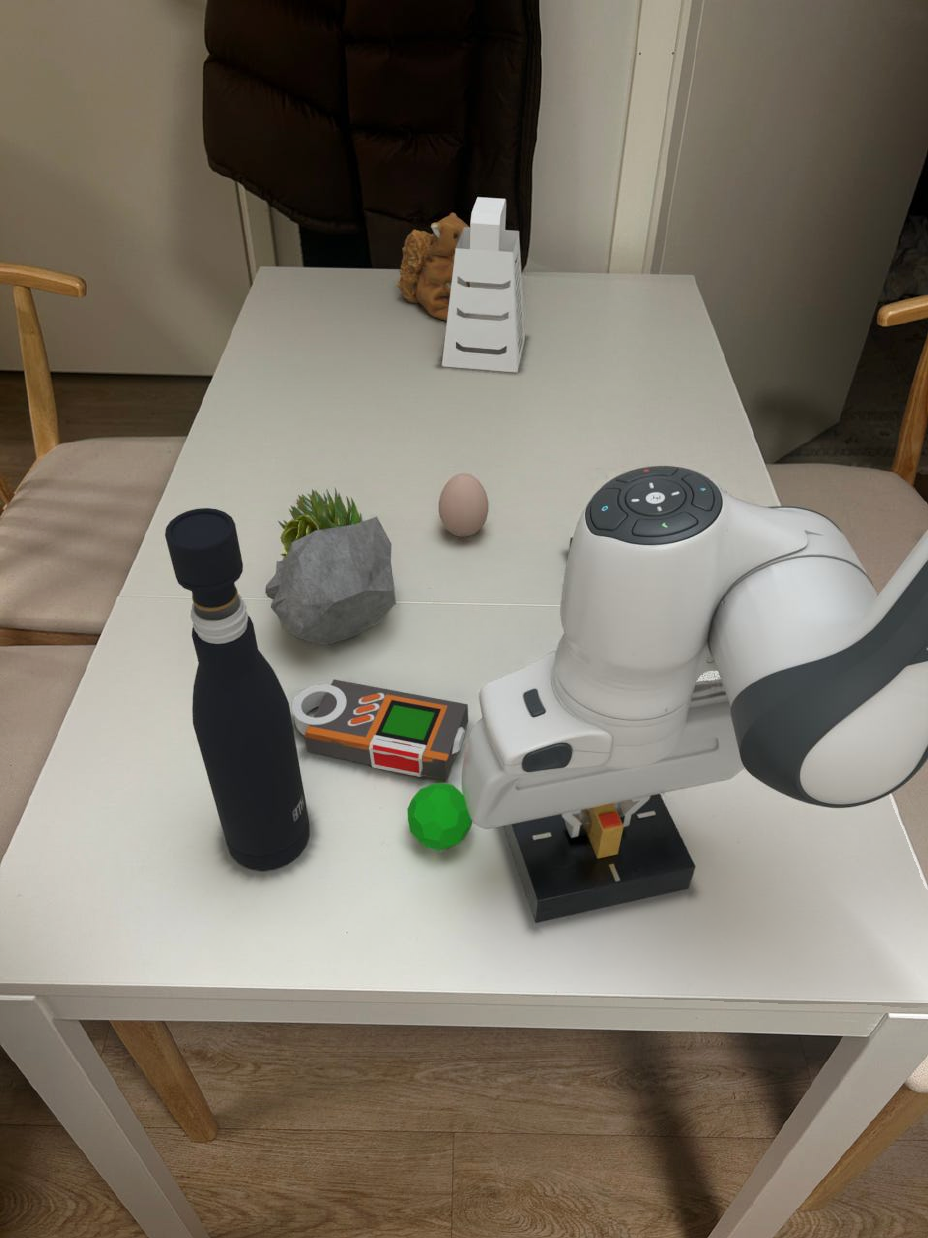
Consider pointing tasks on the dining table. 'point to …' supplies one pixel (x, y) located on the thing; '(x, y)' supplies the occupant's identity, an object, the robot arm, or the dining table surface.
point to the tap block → (599, 863)
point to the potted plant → (331, 571)
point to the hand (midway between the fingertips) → (596, 824)
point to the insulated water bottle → (238, 701)
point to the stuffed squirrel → (431, 265)
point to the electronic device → (382, 727)
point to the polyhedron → (439, 816)
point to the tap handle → (605, 830)
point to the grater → (486, 292)
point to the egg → (463, 505)
